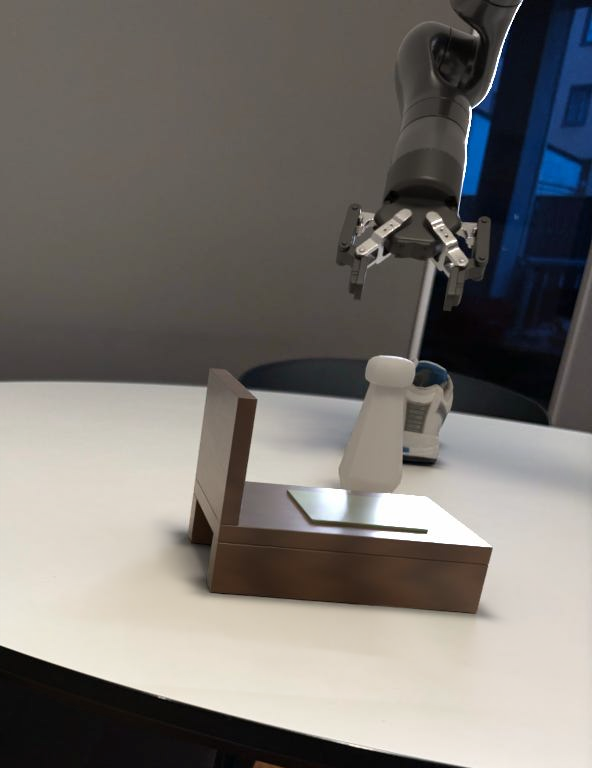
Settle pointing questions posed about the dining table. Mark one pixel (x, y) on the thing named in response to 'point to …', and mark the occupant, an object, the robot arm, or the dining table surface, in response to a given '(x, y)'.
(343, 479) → the salt shaker
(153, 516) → the dining table surface
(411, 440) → the athletic shoe
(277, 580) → the l-shaped wooden stand
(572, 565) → the dining table surface
